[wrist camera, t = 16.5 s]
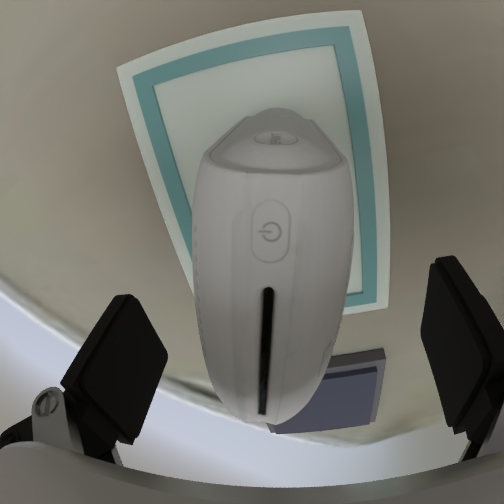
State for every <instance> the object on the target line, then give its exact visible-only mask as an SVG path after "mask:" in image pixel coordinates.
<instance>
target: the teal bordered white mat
mask: <svg viewBox="0 0 504 504" xmlns="http://www.w3.org/2000/svg"><path fill="white" fill-rule="evenodd" d="M116 69H117V73H118V77H119V81H120V84H121V88H122V92H123V95H124V99H125V102H126V106H127V109H128V113H129V116H130V119H131V123H132V126H133V129H134V133H135V136H136V139H137V142H138V145H139V148H140V152H141V155H142V158H143V161H144V164H145V167H146V170H147V173H148V176H149V179H150V182H151V185H152V188H153V190H154V193H155V196H156V199H157V202H158V205H159V207H160V210H161V213H162V216H163V218H164V221H165V224H166V227H167V229H168V232H169V235H170V237H171V240H172V242H173V245H174V248H175V250H176V253H177V255H178V258H179V260H180V263H181V265H182V268H183V270H184V273H185V275H186V278H187V280H188V283H189V285H190V288H191V290H192V292H193V295H194V284H193V265H192V206H193V197H194V189H195V184H196V178H197V173H198V169H199V165H200V161H201V158H202V156H203V154H204V152H205V151H206V150H207V149H208V148H209V147H211V146H212V145H213V144H214V143H215V142H216V141H217V140H218V139H219V138H220V137H221V136H222V135H224V134H225V133H226V132H227V131H228V130H229V129H231V128H232V127H233V126H234V125H235V124H236V123H238V122H239V121H240V120H241V119H243V118H244V117H247V116H250V117H253V116H255V115H256V114H258V113H259V112H261V111H263V110H266V109H270V108H286V109H290V110H292V111H294V112H296V113H298V114H299V115H301V116H302V117H303V118H304V119H312V120H314V121H315V122H316V123H317V125H318V126H319V127H320V128H321V129H322V131H323V132H324V133H325V134H326V135H327V136H328V137H329V138H330V140H331V141H332V142H333V143H334V144H335V146H336V147H337V148H338V149H339V150H340V151H341V152H342V154H343V155H344V156H345V157H346V158H347V161H348V164H349V168H350V174H351V181H352V188H353V200H354V227H353V230H354V248H353V256H352V263H351V272H350V278H349V284H348V289H347V296H346V301H345V306H344V311H343V314H342V315H346V314H353V313H359V312H365V311H372V310H377V309H383V308H388V296H389V275H390V203H389V182H388V167H387V155H386V144H385V135H384V126H383V118H382V111H381V104H380V97H379V91H378V85H377V79H376V73H375V68H374V63H373V58H372V53H371V48H370V44H369V39H368V35H367V31H366V27H365V23H364V19H363V15H362V11H361V10H346V11H330V12H319V13H310V14H301V15H294V16H287V17H280V18H274V19H269V20H263V21H258V22H253V23H249V24H244V25H240V26H235V27H231V28H227V29H223V30H219V31H216V32H212V33H209V34H205V35H202V36H198V37H195V38H192V39H189V40H186V41H183V42H180V43H177V44H174V45H171V46H168V47H165V48H162V49H160V50H157V51H154V52H152V53H149V54H147V55H144V56H142V57H139V58H137V59H135V60H132V61H130V62H128V63H125V64H123V65H121V66H119V67H116ZM194 297H195V296H194Z"/></svg>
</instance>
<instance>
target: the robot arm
mask: <svg viewBox="0 0 504 504" xmlns="http://www.w3.org/2000/svg"><path fill="white" fill-rule="evenodd" d="M421 339H422V342H423V345H424V348H425V351H426V354H427V357H428V360H429V363H430V366H431V369H432V372H433V376H434V379H435V382H436V386H437V389H438V393H439V396H440V400H441V404H442V407H443V411H444V415H445V419H446V423H447V425H448V427H453V431H454V434H458V433H462V432H464V431H466V433H467V438H468V440H469V442H468V444H467V446H466V448H465V450H464V452H463V454H462V456H461V458H460V459H459V461H458V463H455V464H452V465H448V466H445V467H441V468H438V469H433V470H429V471H425V472H420V473H416V474H411V475H406V476H401V477H395V478H390V479H384V480H378V481H372V482H365V483H357V484H348V485H337V486H324V487H303V488H266V487H244V486H231V485H220V484H211V483H203V482H196V481H189V480H183V479H177V478H171V477H166V476H161V475H156V474H151V473H147V472H143V471H138V470H134V469H130V468H126V467H123V464H122V461H121V459H120V456H119V453H118V451H117V448H116V445H115V443H116V441H117V440H118V441H119V442H120V443H125V444H130V445H133V442H134V440H135V438H137V437H138V436H139V434H140V431H141V429H142V426H143V423H144V420H145V418H146V415H147V412H148V410H149V407H150V404H151V402H152V399H153V396H154V394H155V391H156V389H157V386H158V383H159V381H160V378H161V376H162V373H163V371H164V368H165V365H166V363H167V360H168V354H167V351H166V349H165V347H164V345H163V344H162V342H161V340H160V338H159V337H158V335H157V333H156V331H155V330H154V328H153V326H152V324H151V322H150V320H149V319H148V317H147V315H146V313H145V311H144V309H143V307H142V306H141V304H140V302H139V300H138V299H137V298H135V297H134V296H133V295H131V294H125V295H117V296H115V297H114V298H113V300H112V301H111V303H110V304H109V306H108V307H107V309H106V310H105V312H104V313H103V315H102V316H101V318H100V319H99V321H98V322H97V324H96V325H95V327H94V328H93V330H92V331H91V333H90V334H89V336H88V338H87V339H86V341H85V342H84V344H83V346H82V347H81V349H80V350H79V352H78V354H77V355H76V357H75V359H74V360H73V362H72V364H71V365H70V367H69V369H68V370H67V372H66V374H65V375H64V377H63V379H62V380H61V382H60V384H61V385H62V386H63V387H64V388H65V391H64V393H63V392H62V391H61V390H60V389H59V388H57V387H50V388H47V389H45V390H43V391H42V392H41V393H40V394H39V395H38V396H37V397H36V399H35V400H34V402H33V405H32V415H31V416H29V417H28V418H26V419H24V420H22V421H21V422H19V423H17V424H15V425H13V426H11V427H10V428H8V429H7V430H5V431H4V432H3V433H2V434H1V436H0V504H504V330H503V328H502V326H501V324H500V322H499V321H498V319H497V317H496V316H495V314H494V312H493V310H492V309H491V307H490V305H489V304H488V302H487V301H486V299H485V298H484V297H483V295H481V294H480V293H479V291H478V289H477V288H476V286H475V285H474V283H473V282H472V280H471V279H470V277H469V276H468V274H467V273H466V271H465V270H464V268H463V267H462V265H461V264H460V263H459V261H458V260H457V258H456V257H455V256H453V255H451V256H445V257H439V258H436V260H435V263H433V264H431V265H430V270H429V278H428V286H427V293H426V300H425V306H424V312H423V318H422V324H421Z"/></svg>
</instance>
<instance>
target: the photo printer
mask: <svg viewBox="0 0 504 504" xmlns="http://www.w3.org/2000/svg"><path fill="white" fill-rule="evenodd" d="M353 227H354V200H353V188H352V181H351V174H350V168H349V164H348V161H347V158H346V157H345V156H344V155H343V154H342V152H341V151H340V150H339V149H338V148H337V147H336V146H335V144H334V143H333V142H332V141H331V140H330V138H329V137H328V136H327V135H326V134H325V133H324V132H323V131H322V129H321V128H320V127H319V126H318V125H317V123H316V122H315V121H314V120H312V119H304V118H303V117H302V116H301V115H299V114H298V113H296V112H294V111H292V110H290V109H286V108H270V109H266V110H263V111H261V112H259V113H258V114H256V115H255V116H253V117H250V116H247V117H244V118H243V119H241V120H240V121H239V122H238V123H236V124H235V125H234V126H233V127H232V128H231V129H229V130H228V131H227V132H226V133H225V134H224V135H222V136H221V137H220V138H219V139H218V140H217V141H216V142H215V143H214V144H213V145H212V146H211V147H209V148H208V149H207V150H206V151H205V152H204V154H203V156H202V158H201V161H200V165H199V169H198V173H197V178H196V184H195V189H194V197H193V206H192V265H193V284H194V296H195V305H196V314H197V321H198V327H199V334H200V340H201V345H202V350H203V355H204V359H205V363H206V367H207V370H208V374H209V377H210V380H211V382H212V385H213V387H214V389H215V391H216V393H217V395H218V397H219V398H220V400H221V401H222V403H223V404H224V405H225V406H226V407H227V409H228V410H229V411H230V412H231V413H233V414H234V415H235V416H236V417H238V418H239V419H241V420H242V421H244V422H247V423H248V422H255V421H261V422H267V423H270V424H273V425H277V424H281V423H283V422H285V421H287V420H289V419H290V418H292V417H293V416H295V415H296V414H297V413H298V412H299V411H300V410H302V409H303V408H304V406H305V405H306V404H307V403H308V402H309V401H310V399H311V398H312V396H313V394H314V393H315V391H316V389H317V388H318V386H319V384H320V382H321V380H322V378H323V376H324V374H325V371H326V369H327V366H328V364H329V361H330V358H331V355H332V352H333V348H334V345H335V342H336V338H337V335H338V331H339V327H340V323H341V319H342V314H343V311H344V306H345V301H346V296H347V289H348V284H349V278H350V272H351V263H352V256H353V248H354V230H353Z"/></svg>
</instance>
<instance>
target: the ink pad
mask: <svg viewBox="0 0 504 504" xmlns="http://www.w3.org/2000/svg"><path fill="white" fill-rule="evenodd" d="M385 363H386V357H385V353H384V349H377V350H372V351H366V352H360V353H353V354H347V355H340V356H333V357H331V358H330V361H329V364H328V366H327V369H326V371H325V374H324V376H323V378H322V380H321V382H320V384H319V386H318V388H317V389H316V391H315V393H314V394H313V396H312V398H311V399H310V401H309V402H308V403H307V404H306V405H305V406H304V408H303V409H302V410H300V411H299V412H298V413H297V414H296V415H295V416H293V417H292V418H290V419H289V420H287V421H285V422H283V423H281V424H277V425H273V424H270V423H267V422H266V423H267V425H268V428H269V430H270V432H271V433H276V434H288V433H303V432H314V431H324V430H333V429H341V428H348V427H355V426H361V425H367V424H370V422H375V420H376V415H377V410H378V405H379V400H380V394H381V389H382V383H383V376H384V370H385Z"/></svg>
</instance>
